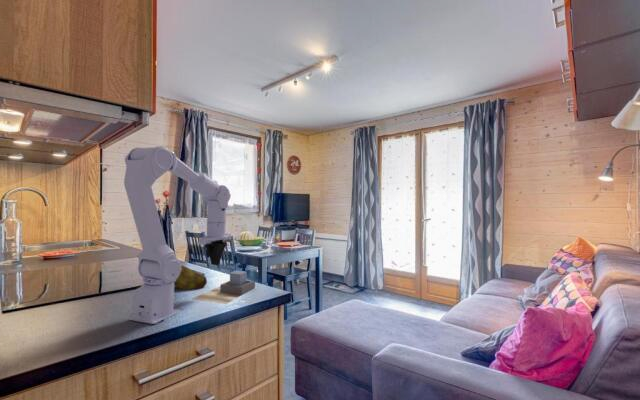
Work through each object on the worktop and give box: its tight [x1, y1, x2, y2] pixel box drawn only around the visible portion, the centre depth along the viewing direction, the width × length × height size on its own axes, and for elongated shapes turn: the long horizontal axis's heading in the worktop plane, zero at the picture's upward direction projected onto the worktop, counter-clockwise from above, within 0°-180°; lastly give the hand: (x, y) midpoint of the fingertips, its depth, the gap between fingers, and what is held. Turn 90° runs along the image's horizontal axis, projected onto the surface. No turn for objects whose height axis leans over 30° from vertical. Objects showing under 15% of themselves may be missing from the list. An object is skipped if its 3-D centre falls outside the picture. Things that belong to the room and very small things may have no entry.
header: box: [219, 279, 256, 296], centre depth 107 cm, size 9×8×2 cm
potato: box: [174, 264, 208, 291], centre depth 108 cm, size 8×13×8 cm, turn 81°
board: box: [191, 286, 256, 305], centre depth 103 cm, size 18×12×1 cm, turn 163°
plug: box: [229, 270, 248, 286], centre depth 107 cm, size 4×4×6 cm
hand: (215, 264), depth 102 cm, fingers closed
